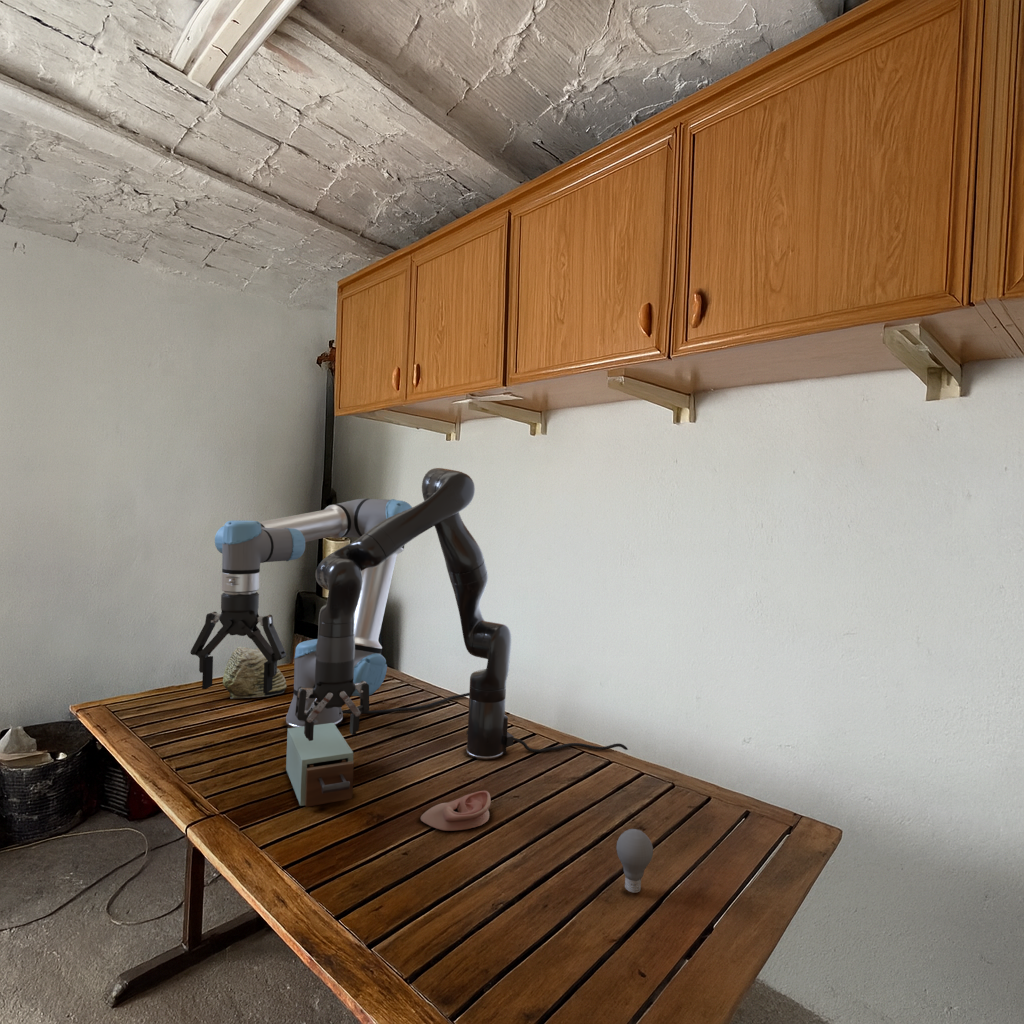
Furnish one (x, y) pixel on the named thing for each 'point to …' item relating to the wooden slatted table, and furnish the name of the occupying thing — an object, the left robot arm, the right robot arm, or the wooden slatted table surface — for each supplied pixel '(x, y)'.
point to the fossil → (249, 675)
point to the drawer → (328, 782)
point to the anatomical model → (459, 812)
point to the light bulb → (634, 857)
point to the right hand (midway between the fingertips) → (331, 736)
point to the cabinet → (313, 753)
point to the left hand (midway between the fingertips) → (237, 689)
